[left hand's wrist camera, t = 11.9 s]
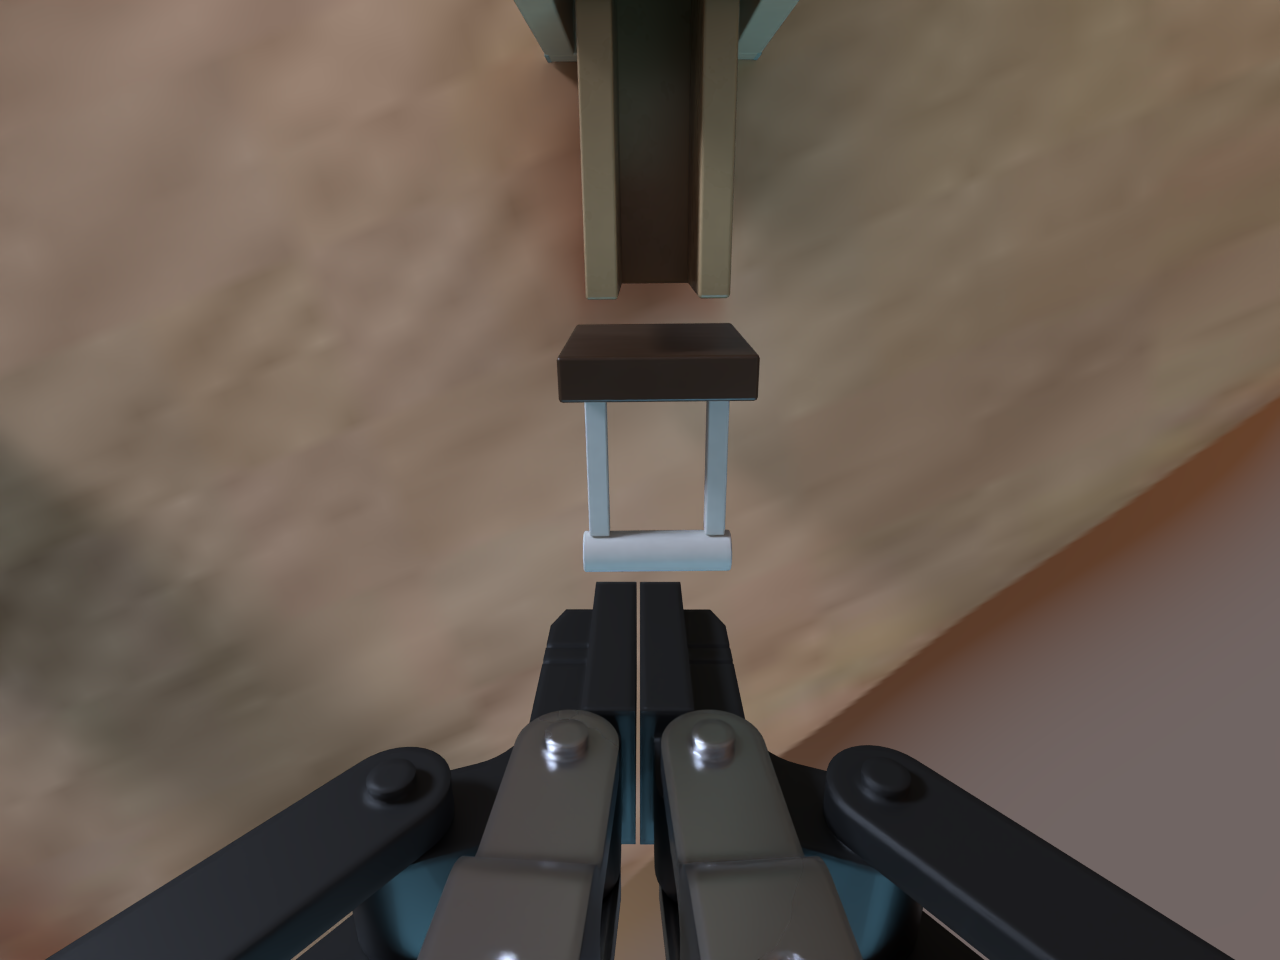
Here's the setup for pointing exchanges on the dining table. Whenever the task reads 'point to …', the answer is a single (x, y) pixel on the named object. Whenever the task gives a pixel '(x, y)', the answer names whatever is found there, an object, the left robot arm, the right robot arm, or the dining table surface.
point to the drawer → (657, 248)
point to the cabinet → (554, 25)
